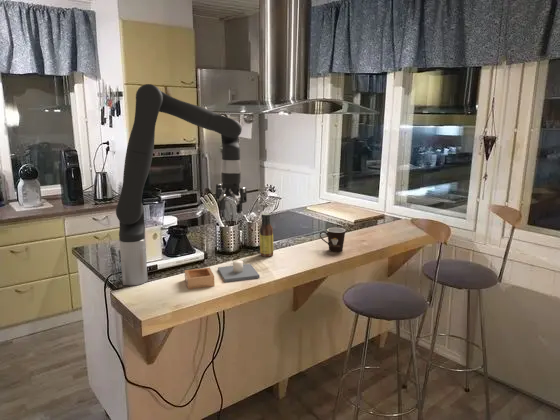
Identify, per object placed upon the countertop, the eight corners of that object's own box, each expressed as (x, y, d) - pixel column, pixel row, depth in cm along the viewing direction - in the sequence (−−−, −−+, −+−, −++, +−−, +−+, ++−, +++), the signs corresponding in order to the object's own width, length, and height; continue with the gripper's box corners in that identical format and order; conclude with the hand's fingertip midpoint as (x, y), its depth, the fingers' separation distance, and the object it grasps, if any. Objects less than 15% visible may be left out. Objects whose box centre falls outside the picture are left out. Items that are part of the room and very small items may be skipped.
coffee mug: (348, 250, 209) (349, 230, 207) (337, 254, 203) (338, 233, 201) (328, 245, 217) (329, 225, 215) (318, 249, 211) (318, 229, 208)
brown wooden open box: (188, 289, 163) (187, 279, 162) (184, 279, 172) (184, 270, 171) (214, 286, 166) (214, 276, 165) (209, 276, 175) (209, 267, 174)
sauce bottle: (266, 252, 206) (266, 211, 201) (276, 254, 202) (276, 213, 197) (256, 255, 201) (256, 213, 196) (267, 258, 197) (266, 215, 192)
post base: (224, 282, 169) (224, 269, 168) (218, 270, 182) (217, 258, 181) (259, 277, 174) (259, 265, 173) (250, 266, 187) (250, 254, 186)
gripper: (211, 170, 171) (211, 210, 175) (238, 173, 163) (238, 215, 167) (223, 168, 177) (223, 207, 181) (251, 172, 170) (250, 212, 173)
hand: (230, 211), depth 174 cm, fingers open, 8 cm apart
